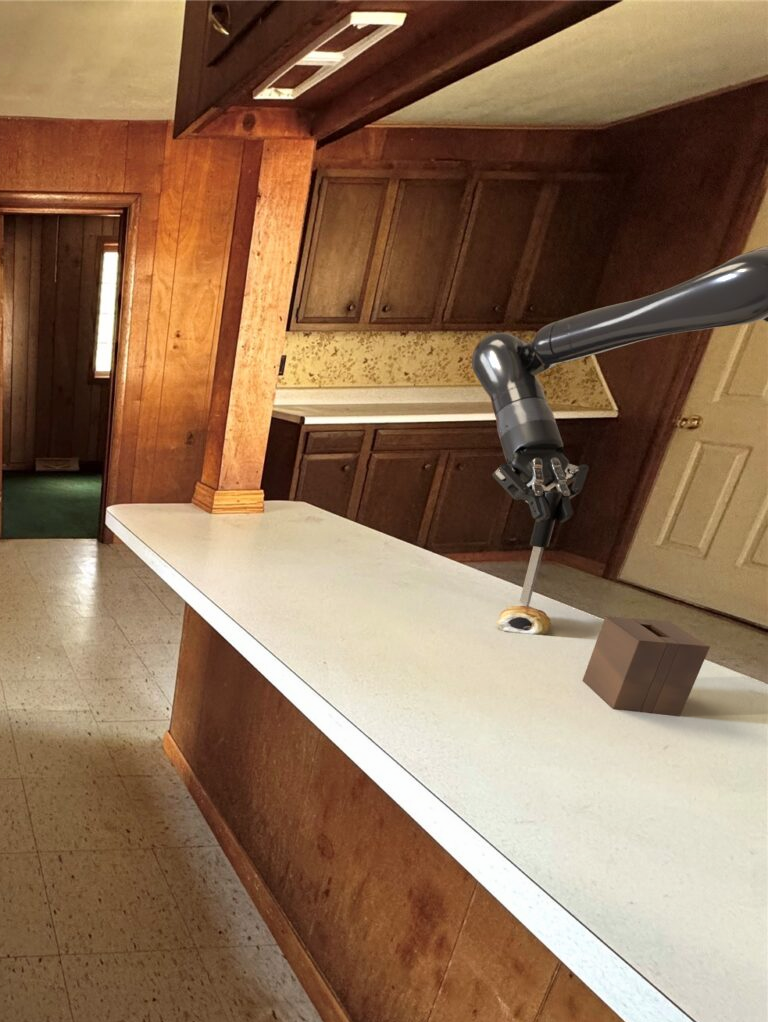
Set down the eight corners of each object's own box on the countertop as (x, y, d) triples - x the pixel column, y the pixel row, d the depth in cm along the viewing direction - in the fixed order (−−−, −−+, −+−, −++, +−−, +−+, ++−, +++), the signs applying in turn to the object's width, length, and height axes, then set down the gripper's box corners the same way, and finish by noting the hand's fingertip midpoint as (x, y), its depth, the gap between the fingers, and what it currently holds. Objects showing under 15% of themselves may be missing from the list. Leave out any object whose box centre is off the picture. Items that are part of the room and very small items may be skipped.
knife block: (641, 692, 92) (669, 620, 88) (677, 722, 85) (710, 646, 81) (579, 686, 94) (605, 616, 90) (610, 715, 87) (639, 640, 83)
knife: (529, 602, 113) (557, 490, 107) (536, 607, 111) (565, 493, 105) (512, 601, 114) (539, 489, 108) (518, 606, 111) (547, 492, 106)
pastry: (506, 613, 118) (512, 593, 117) (554, 624, 113) (561, 603, 112) (493, 629, 112) (499, 608, 111) (543, 641, 108) (551, 620, 106)
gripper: (496, 418, 110) (521, 507, 104) (589, 417, 108) (621, 508, 102) (470, 445, 117) (492, 530, 110) (557, 445, 115) (585, 531, 108)
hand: (554, 519), depth 106 cm, fingers closed on knife, 2 cm apart
